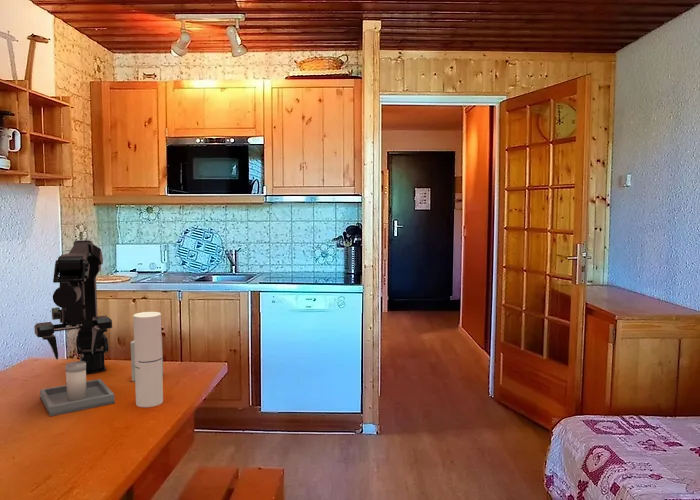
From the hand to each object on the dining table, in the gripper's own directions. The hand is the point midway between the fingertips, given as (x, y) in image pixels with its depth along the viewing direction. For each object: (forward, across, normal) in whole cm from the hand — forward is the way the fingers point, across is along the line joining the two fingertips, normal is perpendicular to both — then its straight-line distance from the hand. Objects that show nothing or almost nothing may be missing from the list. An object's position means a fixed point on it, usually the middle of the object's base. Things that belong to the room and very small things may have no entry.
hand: (75, 356), depth 155 cm
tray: (+13, 0, 0) cm, 13 cm away
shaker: (+12, 0, 0) cm, 12 cm away
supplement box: (+13, -22, -8) cm, 27 cm away
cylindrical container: (+13, -16, +13) cm, 24 cm away
